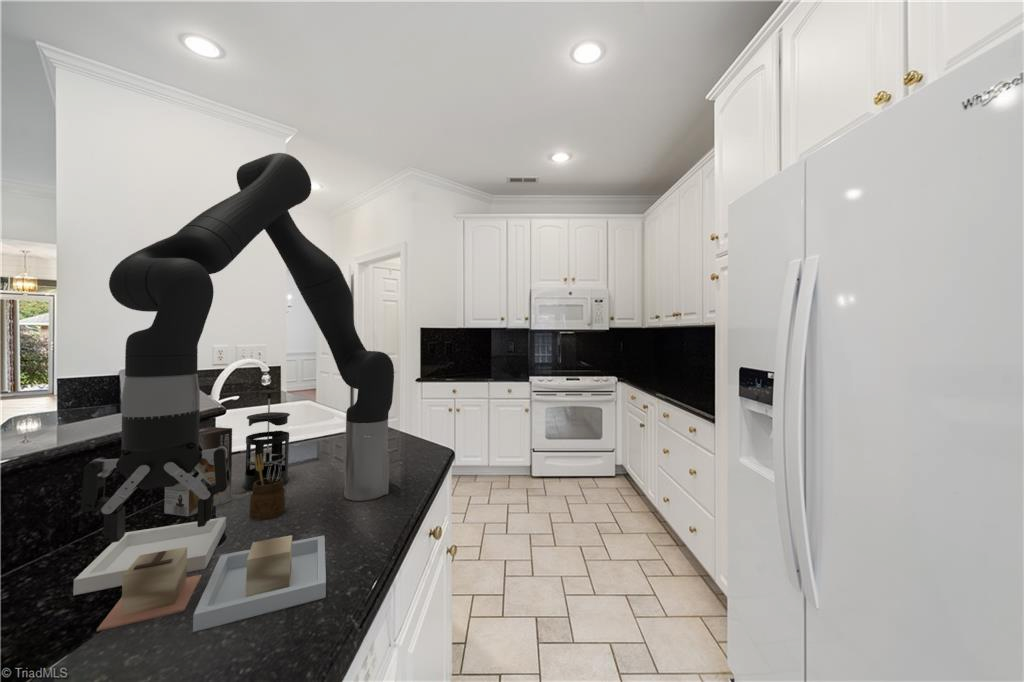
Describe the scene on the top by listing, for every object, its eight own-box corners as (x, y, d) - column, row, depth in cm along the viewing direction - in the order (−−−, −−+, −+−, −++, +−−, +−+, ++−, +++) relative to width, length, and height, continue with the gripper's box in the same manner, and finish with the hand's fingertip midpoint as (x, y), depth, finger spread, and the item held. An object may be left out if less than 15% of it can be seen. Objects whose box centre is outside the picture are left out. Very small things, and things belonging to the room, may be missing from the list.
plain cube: (291, 568, 57) (292, 535, 57) (289, 587, 53) (290, 551, 53) (251, 577, 55) (252, 542, 55) (245, 597, 50) (246, 560, 50)
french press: (278, 491, 88) (281, 393, 89) (233, 493, 86) (236, 393, 87) (297, 474, 100) (299, 387, 100) (258, 475, 98) (260, 387, 98)
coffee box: (208, 498, 83) (210, 425, 84) (232, 501, 82) (234, 427, 82) (162, 516, 74) (164, 435, 75) (188, 520, 73) (190, 437, 73)
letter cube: (186, 582, 53) (187, 545, 53) (174, 604, 48) (175, 563, 49) (138, 592, 51) (139, 553, 51) (121, 616, 46) (122, 573, 46)
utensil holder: (264, 525, 71) (265, 462, 72) (241, 519, 74) (242, 458, 74) (291, 512, 77) (293, 454, 77) (269, 507, 79) (271, 450, 79)
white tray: (225, 531, 69) (226, 516, 69) (205, 572, 57) (205, 554, 57) (121, 548, 63) (122, 533, 63) (73, 599, 50) (73, 579, 50)
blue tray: (324, 550, 63) (324, 535, 63) (325, 601, 51) (325, 582, 51) (220, 572, 57) (220, 555, 57) (192, 637, 44) (193, 614, 44)
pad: (201, 579, 55) (201, 574, 55) (184, 615, 48) (184, 608, 48) (127, 595, 51) (127, 589, 51) (96, 636, 44) (96, 629, 44)
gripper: (234, 401, 56) (233, 509, 56) (101, 408, 50) (100, 531, 50) (223, 409, 50) (222, 532, 50) (69, 419, 43) (67, 561, 43)
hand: (161, 531), depth 50 cm, fingers open, 8 cm apart
